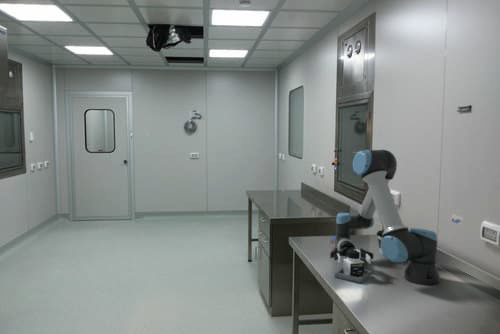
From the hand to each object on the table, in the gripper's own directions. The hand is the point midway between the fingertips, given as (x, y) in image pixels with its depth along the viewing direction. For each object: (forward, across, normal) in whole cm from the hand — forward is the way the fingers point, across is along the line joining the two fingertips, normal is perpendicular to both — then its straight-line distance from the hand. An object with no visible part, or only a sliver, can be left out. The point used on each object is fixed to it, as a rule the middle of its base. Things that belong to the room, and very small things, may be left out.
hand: (355, 260), depth 187 cm
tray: (-3, 0, -9) cm, 9 cm away
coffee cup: (-42, -26, -9) cm, 51 cm away
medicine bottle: (-3, 0, -8) cm, 9 cm away
